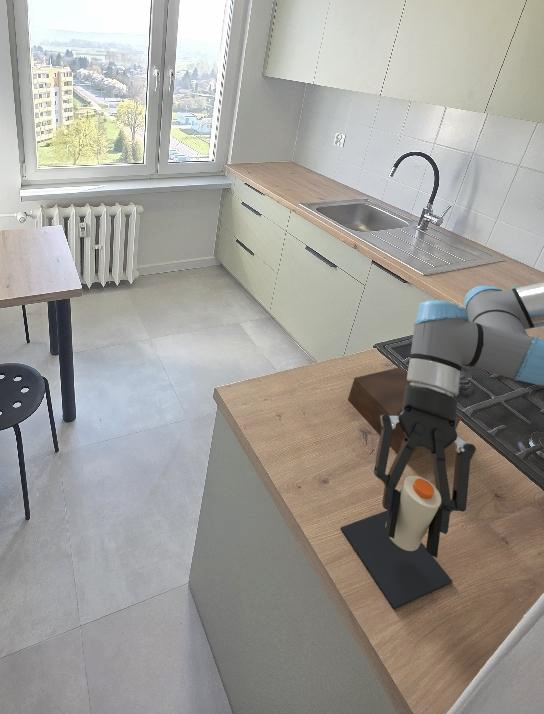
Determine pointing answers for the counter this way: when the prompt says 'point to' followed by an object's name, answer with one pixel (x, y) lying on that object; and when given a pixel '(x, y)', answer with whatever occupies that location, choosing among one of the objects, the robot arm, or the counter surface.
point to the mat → (394, 562)
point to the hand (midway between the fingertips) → (410, 544)
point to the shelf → (382, 399)
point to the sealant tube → (415, 512)
